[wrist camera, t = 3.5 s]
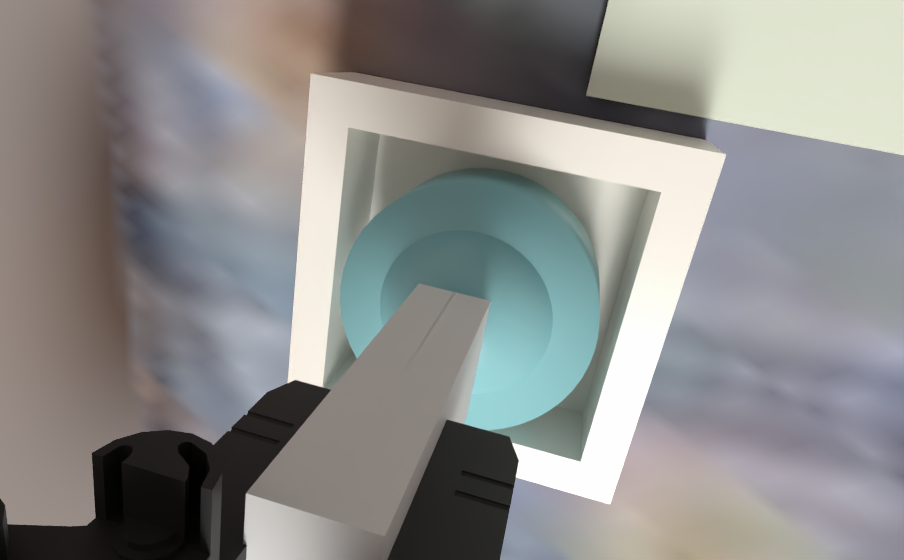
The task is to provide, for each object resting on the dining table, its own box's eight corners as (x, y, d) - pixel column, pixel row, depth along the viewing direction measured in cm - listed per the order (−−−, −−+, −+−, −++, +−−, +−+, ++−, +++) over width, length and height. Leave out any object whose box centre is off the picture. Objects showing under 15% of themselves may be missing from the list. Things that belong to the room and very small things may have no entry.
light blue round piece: (397, 141, 16) (329, 168, 12) (626, 189, 15) (636, 235, 11) (371, 341, 18) (306, 421, 14) (569, 393, 17) (560, 495, 13)
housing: (352, 71, 16) (310, 73, 14) (706, 139, 14) (726, 154, 12) (323, 369, 19) (285, 410, 17) (608, 447, 18) (610, 504, 15)
